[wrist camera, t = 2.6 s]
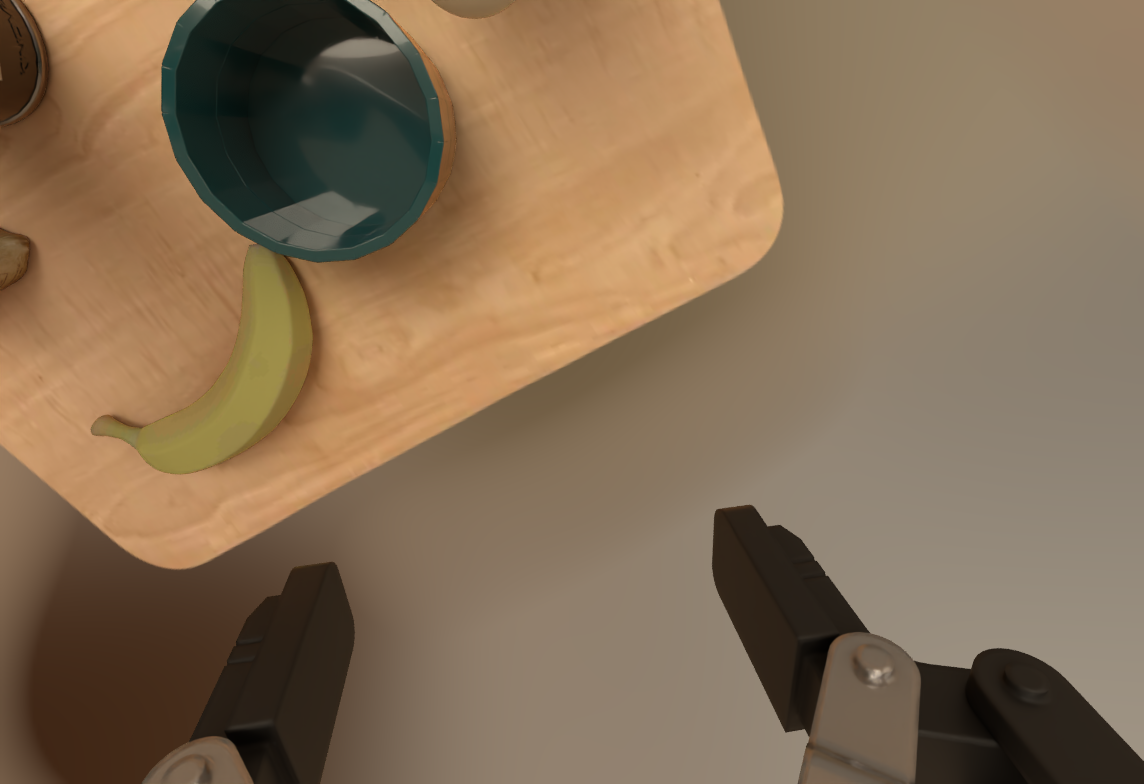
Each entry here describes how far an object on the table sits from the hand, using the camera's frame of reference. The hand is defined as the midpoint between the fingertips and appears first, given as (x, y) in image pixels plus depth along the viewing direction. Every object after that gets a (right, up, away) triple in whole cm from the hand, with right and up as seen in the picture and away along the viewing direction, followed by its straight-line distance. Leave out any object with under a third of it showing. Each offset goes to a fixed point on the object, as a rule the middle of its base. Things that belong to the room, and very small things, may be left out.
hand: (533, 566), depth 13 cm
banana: (-27, +6, +33) cm, 43 cm away
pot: (-14, +22, +28) cm, 38 cm away
